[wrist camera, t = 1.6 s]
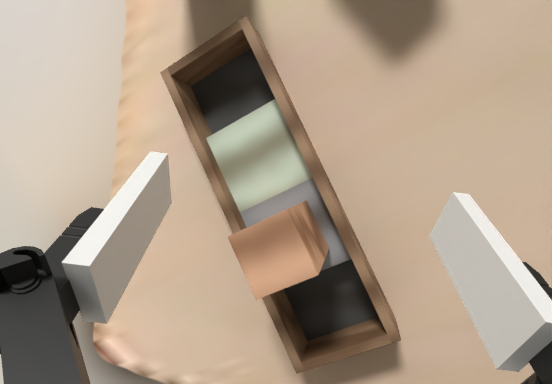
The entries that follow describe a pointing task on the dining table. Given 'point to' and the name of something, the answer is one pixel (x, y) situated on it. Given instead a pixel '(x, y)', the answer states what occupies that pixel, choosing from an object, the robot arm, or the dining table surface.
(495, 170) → the dining table surface
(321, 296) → the box
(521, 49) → the dining table surface
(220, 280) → the dining table surface
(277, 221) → the block
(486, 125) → the dining table surface
